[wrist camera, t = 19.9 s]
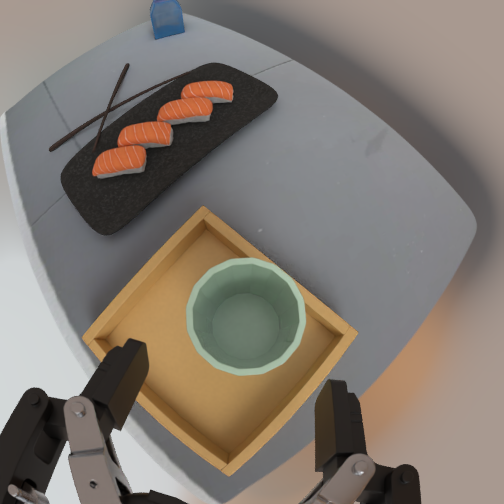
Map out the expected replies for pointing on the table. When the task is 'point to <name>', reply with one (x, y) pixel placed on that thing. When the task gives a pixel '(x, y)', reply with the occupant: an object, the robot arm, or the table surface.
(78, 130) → the sushi plate
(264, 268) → the teacup
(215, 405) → the tray
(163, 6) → the perfume bottle
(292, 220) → the table surface
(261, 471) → the table surface
